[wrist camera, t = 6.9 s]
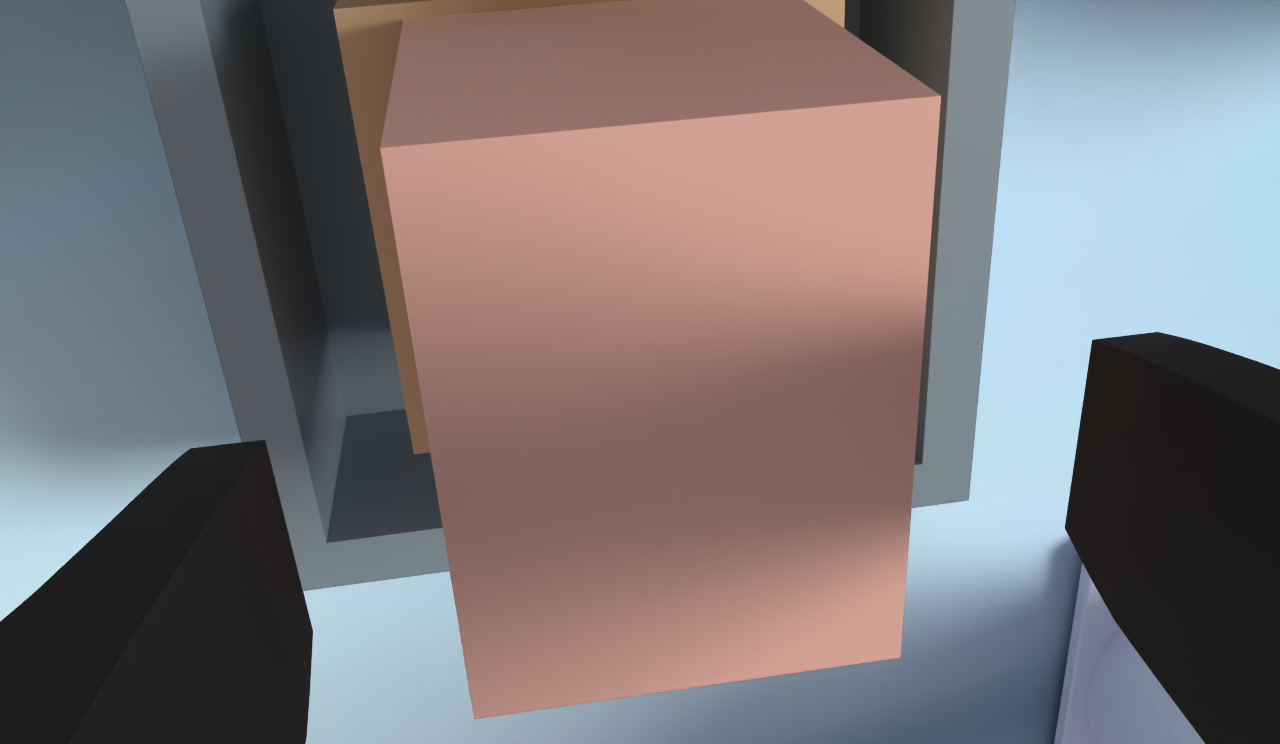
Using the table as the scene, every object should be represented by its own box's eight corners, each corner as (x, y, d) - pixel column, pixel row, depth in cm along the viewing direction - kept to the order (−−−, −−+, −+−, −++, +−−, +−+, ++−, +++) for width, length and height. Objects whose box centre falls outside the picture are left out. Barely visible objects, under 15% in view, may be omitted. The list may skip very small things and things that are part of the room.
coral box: (785, -13, 14) (942, 95, 9) (781, 420, 17) (900, 657, 12) (403, 18, 13) (380, 147, 9) (467, 458, 16) (474, 719, 12)
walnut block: (765, -79, 17) (845, -36, 14) (768, 289, 20) (835, 401, 17) (357, -45, 17) (332, 9, 13) (420, 329, 19) (413, 454, 16)
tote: (904, -265, 17) (1040, -271, 13) (876, 367, 22) (968, 500, 18) (164, -214, 16) (71, -203, 12) (313, 437, 21) (281, 594, 17)
